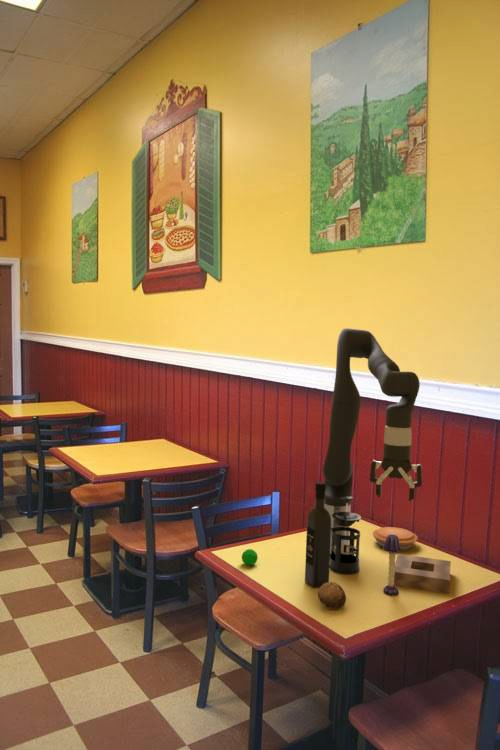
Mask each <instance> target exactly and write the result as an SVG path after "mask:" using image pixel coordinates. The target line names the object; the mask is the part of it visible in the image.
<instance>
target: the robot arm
mask: <svg viewBox="0 0 500 750" xmlns="http://www.w3.org/2000/svg"><path fill="white" fill-rule="evenodd" d="M336 346H337V347H336V364H335V365H336V367H335V378H334V387H333V392H332V398H331V399H332V400H331V406H330V418H329V421H330V422H329V436H328V437H329V438H328V439H329V440H328V445H327V446H328V447H327V452H326V456H325V460H324V464H323V467H322V472H323V477H324V483H326V488H325V489H326V491H325V508H326V509H327V511H328V512H329V514H330V516H331V527H332V528H335V527H345V526H340V525H336V524H335V523H334V522H333V517H332V514H333V513H336V512H346V500H344V499H341V496H351V497H352V494H353V493H352V492H353V479H354V477H353V474H354V467H353V465H354V464H353V462H352V460H351V452H352V443H353V439H354V436H355V433H356V430H357V427H358V426H357V425H358V421H359V416H360V410H361V401H362V400H361V399H362V398H361V394H360V391H359V389H358V387H357V385H356V383H355V381H354V379H353V376H352V373H351V358H355V359H356V358H357V359H367V368H368V370H369V372H370V374H372V376H373V377H374V378H375V379H377V381H378V383H379V386H380V389H381V390H380V391H381V392H382V394H384V395H385V396H388V397H392V398H393V397H394V398H395V397H401V398H400V400H399V401H398V402H397V403H394V404H390V405H388V406H387V407H386V409H385V426H384V432H383V433H384V434H383V450H382V451H383V453H382V454H383V455H382V461H377V459H373V460H372V461H371V463H370V464H371V465H370V475H369V482H372V483H374V484H375V495H376V496H377V497H378V498H379V499H380V498H382V489H383V486H382V485H383V483H382V482H384V481H385V479H386V478H387V477H388V478H390V479H394V478H395V479H401V480H402V479H404V480H405V482H406V483H407V484H408V485H409V488H408V489H409V491H408V502H412V501H413V500H414V499H415V494H416V492H415V491H416V488H420V487H421V486H422V484H423V465H422V464H421V463H418V464H412V461H411V460H412V459H411V456H412V455H411V454H412V453H411V452H412V413H413V411H414V406H415V403H416V400H417V397H418V395H419V392H420V383H421V382H420V379H419V376H418V375H417V373H415V372H414V371H401V368H400V367H399V365H398V364H397V363H396V362H395V361H393V359H391V358H390V357H389V356H388V355H387V353H385V352H384V350H383V348H382V347H381V345H380V344H379V342H378V340H377V338H376V337H375V336H374V335H373V333H372V332H370V331H368V330H365V329H356V328H348V327H347V328H343V329H341V331H340V332H339V334H338V339H337V345H336ZM379 467H381V469H382V470H383V471H384V472H383V473H382V474H381V475H380V476H379V477H377V476H376V473H377V470H378V469H379ZM411 470H413V471H414V473H416V481H414V480H413V478H412V476H411V475H410V472H411ZM351 501H352V500H349V503H348V506H347V512H351ZM348 527H351V526H348ZM335 533H336V534H339V535H344V536H345V531H336V532H335ZM346 536H350V531H346ZM341 544H345V540H342V539H341ZM346 544H348V545H349V540H346ZM331 545H332V535H331V541H330V553H331ZM335 545H336V538H335ZM334 554H336V553H335V552H334Z"/></svg>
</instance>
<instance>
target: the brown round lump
mask: <svg viewBox="0 0 500 750" xmlns="http://www.w3.org/2000/svg"><path fill="white" fill-rule="evenodd" d="M344 590H345V589H344V588H343V587H341V585H340V584H338V583H337V582H335V581H334V582H332V581H329V582H328V583H324V584H323V585H322V586H321V587H318V591H317V597H318V600H319V601H320V603H321V604H322V606H323V607H324V608H326V609H329V610H332V611H333V610H334V611H336V610H340V609H341V608H343V607H344V605H345V604H346V602H347V595H346V593H345V591H344Z"/></svg>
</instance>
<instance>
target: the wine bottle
mask: <svg viewBox="0 0 500 750" xmlns="http://www.w3.org/2000/svg"><path fill="white" fill-rule="evenodd" d="M314 485H315V489H314V490H315V497H314V498H315V499H314V500H315V501H314V502H315V503H314V507H313V508H311V509H310V510H309V512H308V514H307V518H306V538H305V539H306V540H305V564H304V565H305V567H304V582H305V583H306V584H308V585H310V586H311V587H313V588H320V587H321V586H322V585H323V584H324V583H328V582H330V568H329V565H330V541H331V516H330V514H329V512H328V511H327V509H326V508H325V491H326V489H325V488H326V483H325V481H323V482H322V481H317V482H315V484H314Z"/></svg>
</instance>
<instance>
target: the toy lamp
mask: <svg viewBox="0 0 500 750" xmlns="http://www.w3.org/2000/svg"><path fill="white" fill-rule="evenodd" d="M383 549H384V550H385V551H386V552H388V554H389V555H388V577H387V579H388V580H387V581H388V582H387V585H386V586H384V587H383V590H382V591H383V594H385V595H388V596H397V595H398V594H399V590H398V588H397V586H396V585H394V575H395V572H394V571H395V563H396V553H399V552H401V551H402V550H401V548H400V543H399V539H398V536H396V535H388V536H387V539H386V542H385V545H384V548H383Z"/></svg>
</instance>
